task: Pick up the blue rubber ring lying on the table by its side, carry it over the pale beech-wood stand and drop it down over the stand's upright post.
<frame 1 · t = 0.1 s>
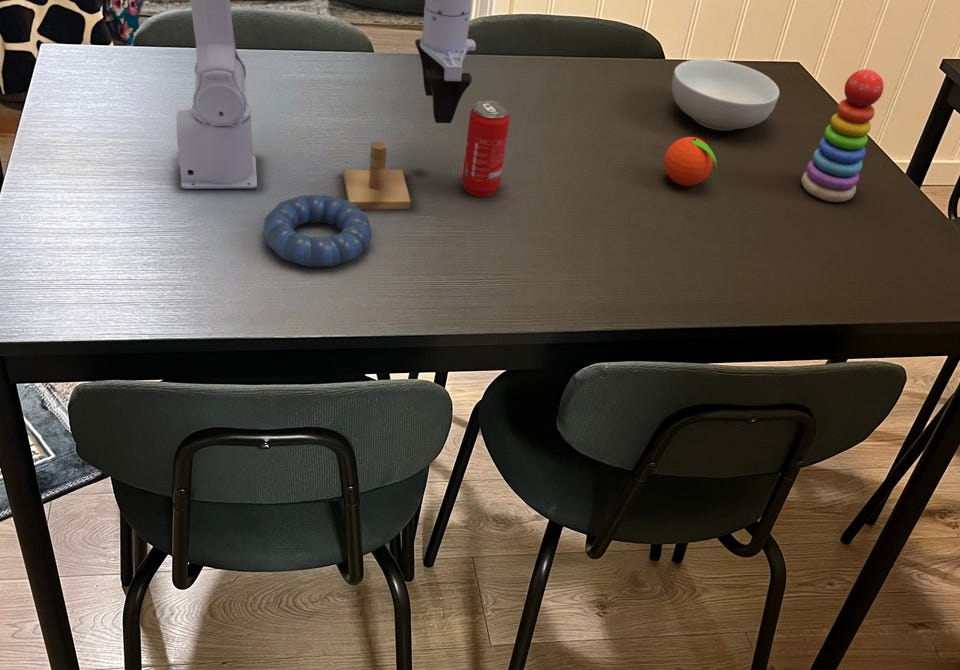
hand: (437, 108, 127), 10 cm above the table, tool pointing down, fingers open, 7 cm apart
ring: (317, 229, 117), point 2 cm above the table
clementine: (685, 185, 140), on the table
beverage can: (480, 189, 132), on the table
stacking toy: (825, 191, 143), on the table
cereal bowl: (714, 120, 158), on the table
stand: (376, 193, 128), on the table
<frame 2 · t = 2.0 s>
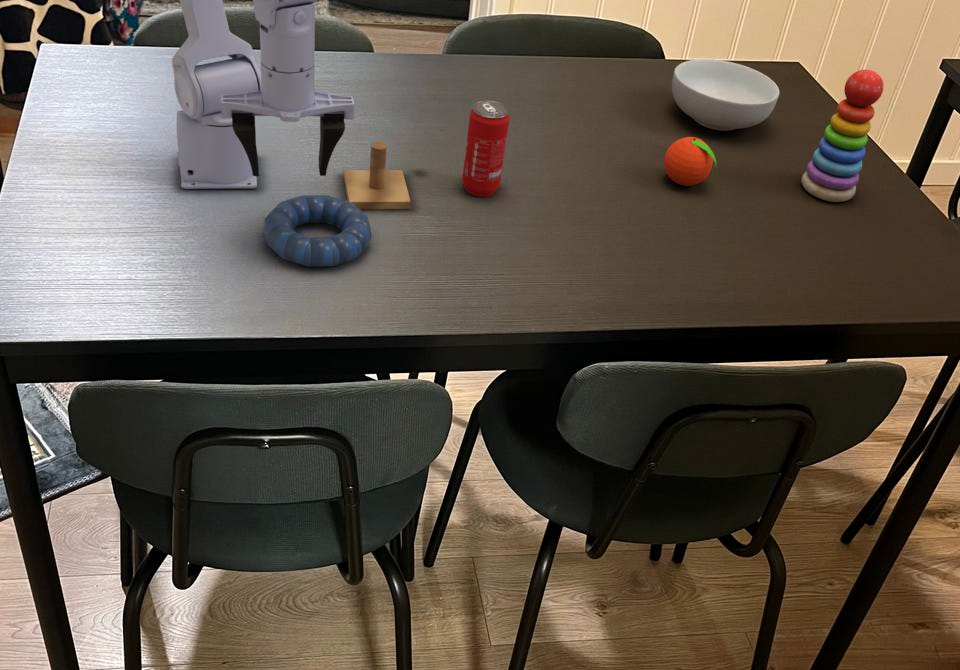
hand: (289, 171, 112), 9 cm above the table, tool pointing down, fingers open, 7 cm apart
nothing on the table moved.
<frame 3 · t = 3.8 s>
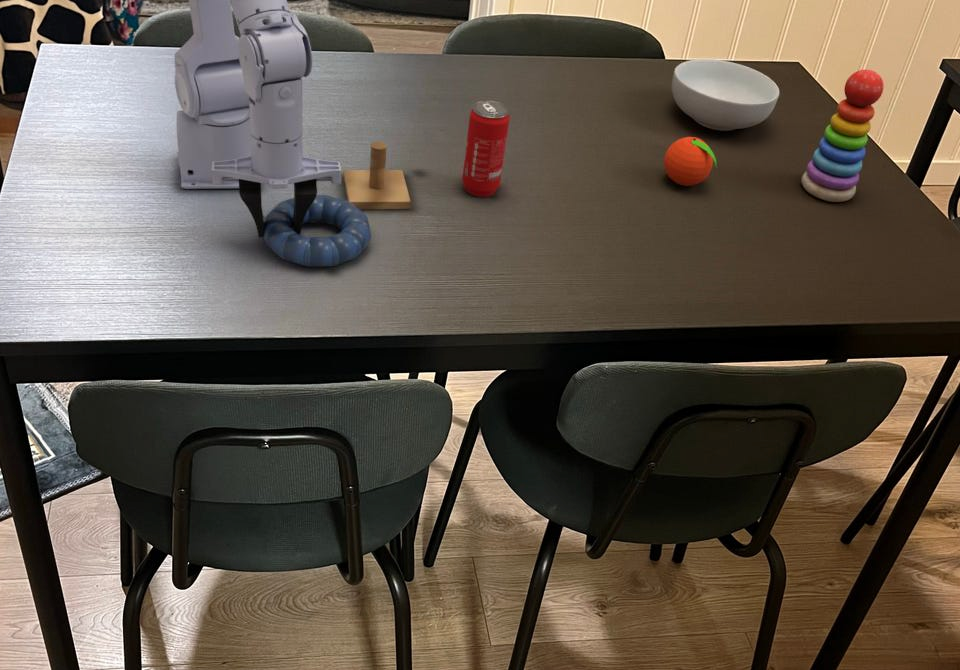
hand: (278, 232, 116), 1 cm above the table, tool pointing down, fingers closed on ring, 3 cm apart
ring: (317, 229, 117), point 2 cm above the table, touching gripper
everything else where it was.
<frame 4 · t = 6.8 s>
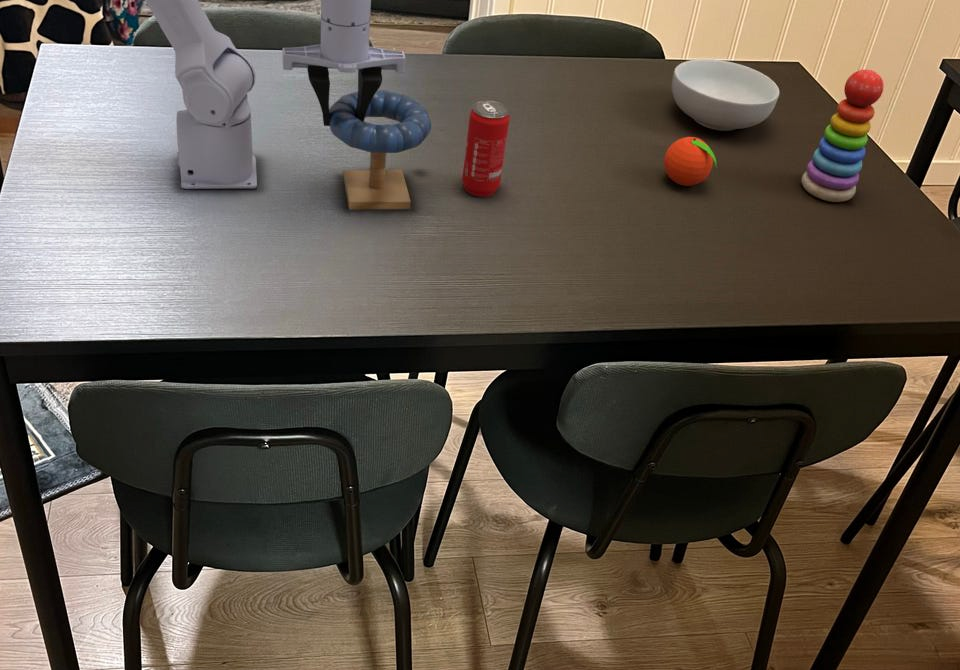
hand: (342, 122, 120), 10 cm above the table, tool pointing down, fingers closed on ring, 3 cm apart
ring: (379, 120, 121), point 11 cm above the table, touching gripper
everything else where it was.
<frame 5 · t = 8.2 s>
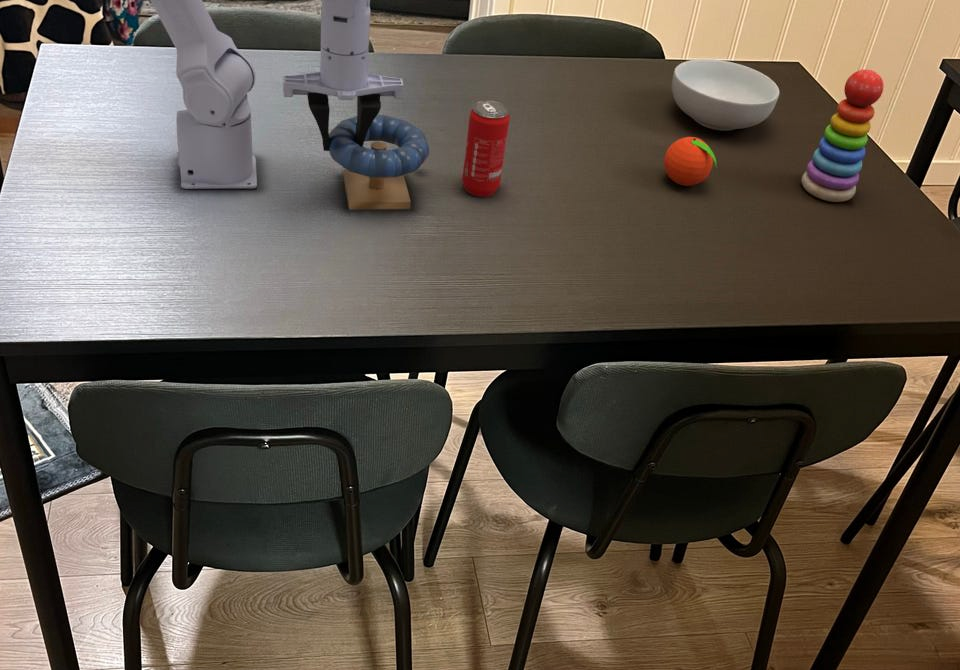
hand: (342, 147, 123), 7 cm above the table, tool pointing down, fingers closed on ring, 3 cm apart
ring: (378, 145, 124), point 7 cm above the table, touching gripper
everything else where it was.
when the fingers open (4 cm above the table, at t = 9.7 s): ring stays where it is, resting on stand.
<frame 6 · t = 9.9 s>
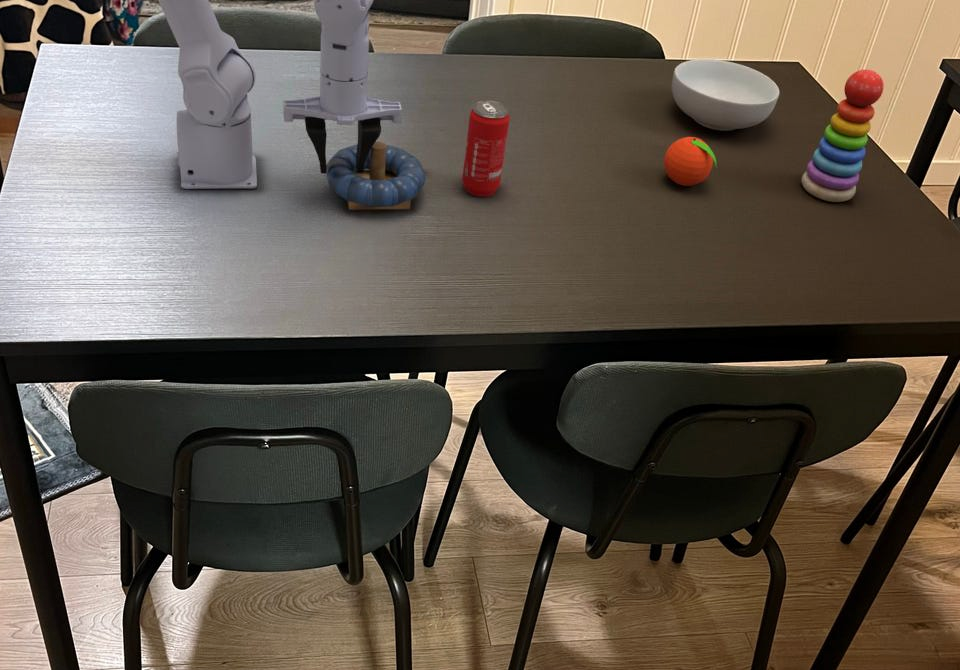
hand: (341, 169, 125), 4 cm above the table, tool pointing down, fingers open, 4 cm apart
ring: (375, 174, 126), point 3 cm above the table, touching stand
everything else where it was.
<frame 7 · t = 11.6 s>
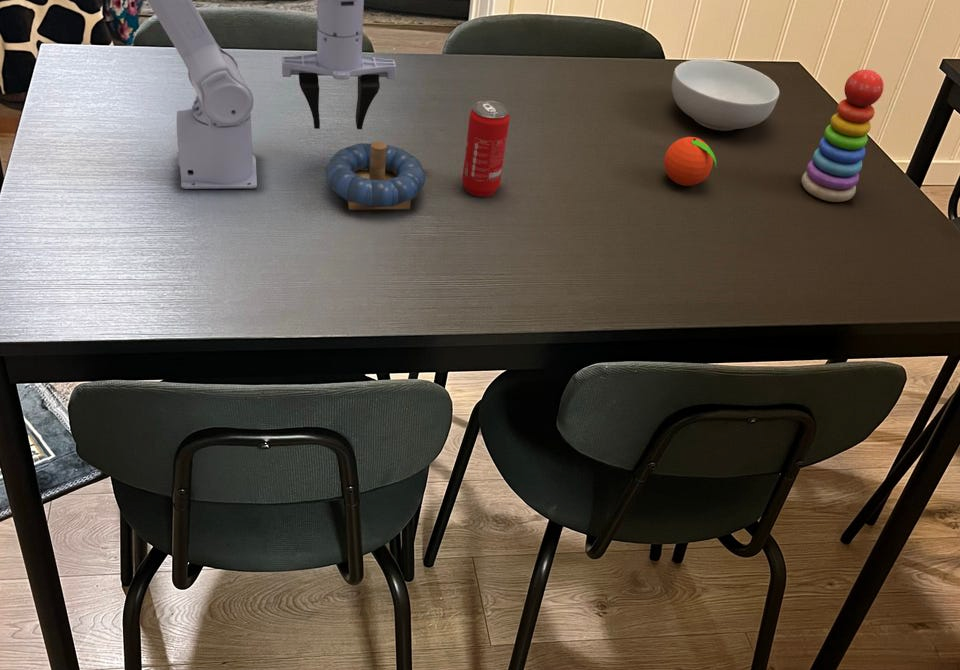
hand: (337, 125, 130), 6 cm above the table, tool pointing down, fingers open, 5 cm apart
nothing on the table moved.
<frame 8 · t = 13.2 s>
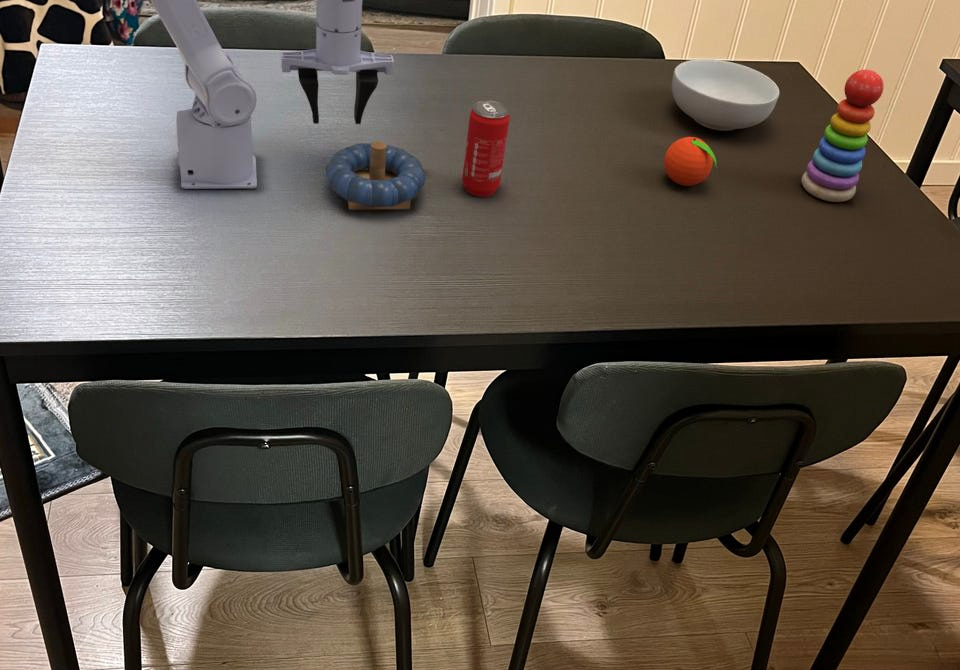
hand: (336, 120, 131), 5 cm above the table, tool pointing down, fingers open, 5 cm apart
nothing on the table moved.
at the end: ring 0.2 cm off-centre on the stand, point 2.9 cm above the stand's base; the gripper is holding nothing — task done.
